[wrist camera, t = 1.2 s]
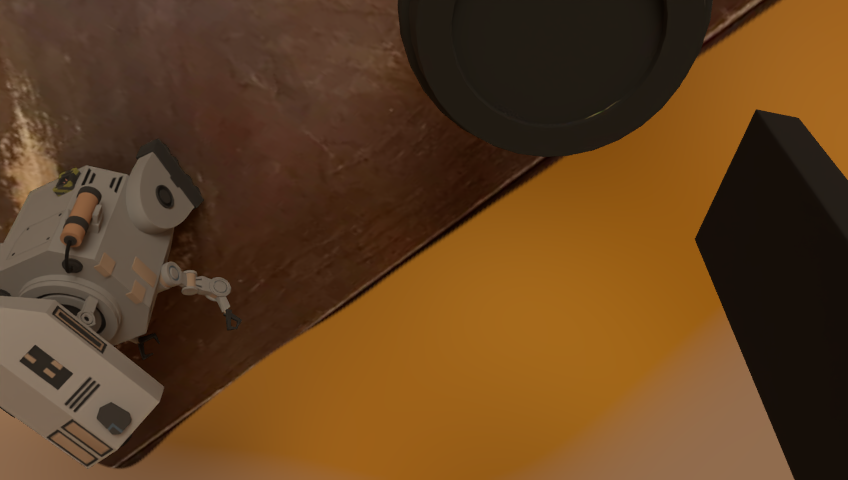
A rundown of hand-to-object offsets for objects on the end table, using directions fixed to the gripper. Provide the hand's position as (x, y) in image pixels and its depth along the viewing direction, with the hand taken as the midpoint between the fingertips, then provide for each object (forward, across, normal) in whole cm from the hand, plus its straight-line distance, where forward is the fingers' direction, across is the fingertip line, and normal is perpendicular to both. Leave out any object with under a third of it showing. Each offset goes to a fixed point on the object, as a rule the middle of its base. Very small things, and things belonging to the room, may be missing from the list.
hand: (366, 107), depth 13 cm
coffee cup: (+26, +5, -1) cm, 26 cm away
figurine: (+26, -13, -22) cm, 36 cm away
